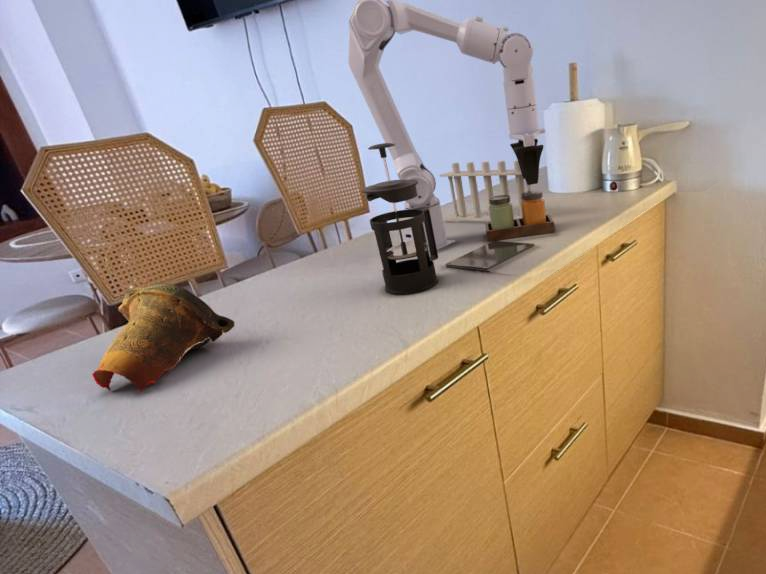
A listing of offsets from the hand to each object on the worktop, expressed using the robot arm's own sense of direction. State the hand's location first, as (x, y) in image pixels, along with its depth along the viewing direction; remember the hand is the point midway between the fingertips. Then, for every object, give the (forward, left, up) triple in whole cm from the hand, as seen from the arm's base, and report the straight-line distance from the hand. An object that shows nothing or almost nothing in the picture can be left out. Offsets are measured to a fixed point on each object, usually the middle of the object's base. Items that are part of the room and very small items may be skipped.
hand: (530, 181), depth 112 cm
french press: (-33, +3, -11) cm, 35 cm away
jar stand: (-2, +2, -11) cm, 11 cm away
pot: (-69, +17, -11) cm, 72 cm away
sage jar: (-5, +5, -10) cm, 12 cm away
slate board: (-17, -1, -11) cm, 20 cm away
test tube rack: (+8, +17, -11) cm, 22 cm away
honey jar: (0, 0, -10) cm, 10 cm away
